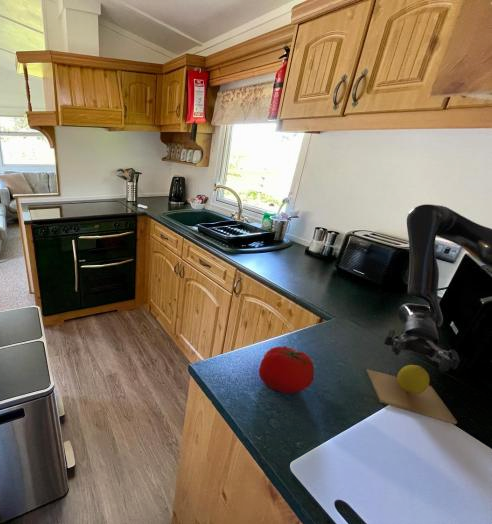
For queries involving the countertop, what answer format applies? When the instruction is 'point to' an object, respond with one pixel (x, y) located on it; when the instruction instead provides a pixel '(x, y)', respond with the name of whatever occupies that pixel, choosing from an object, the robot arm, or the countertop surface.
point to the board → (409, 397)
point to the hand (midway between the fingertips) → (419, 360)
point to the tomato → (286, 370)
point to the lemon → (413, 379)
